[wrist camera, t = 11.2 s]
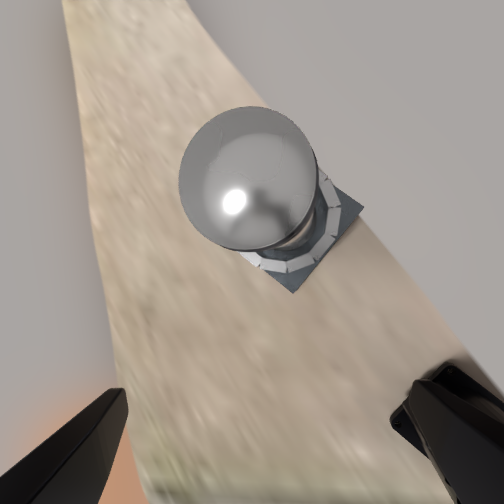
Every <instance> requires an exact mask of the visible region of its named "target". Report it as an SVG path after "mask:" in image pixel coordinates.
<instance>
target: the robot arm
mask: <svg viewBox="0 0 504 504" xmlns="http://www.w3.org/2000/svg"><path fill="white" fill-rule="evenodd" d="M449 369H453V371H452V372H451V373H448V370H449ZM127 417H128V403H127V397H126V392H125V389H124V388H110V389H108V390H107V391H106V392H104V393H103V394H102V395H101V396H99V397H98V398H97V399H96V400H94V401H93V402H92V403H91V404H89V405H88V406H87V407H86V408H85V409H83V410H82V411H81V412H80V413H78V414H77V415H76V416H75V417H73V418H72V419H71V420H70V421H68V422H67V423H66V424H65V425H64V426H62V427H61V428H60V429H59V430H57V431H56V432H55V433H54V434H52V435H51V436H50V437H49V438H48V439H46V440H45V441H44V442H43V443H41V444H40V445H39V446H38V447H36V448H35V449H34V450H33V451H31V452H30V453H29V454H28V455H26V456H25V457H24V458H23V459H22V460H20V461H19V462H18V463H17V464H16V465H14V466H13V467H12V468H10V470H8V471H7V472H5V473H4V474H3V475H2V476H1V477H0V504H98V502H99V499H100V497H101V495H102V492H103V490H104V487H105V485H106V482H107V480H108V476H109V474H110V471H111V468H112V465H113V462H114V458H115V455H116V452H117V449H118V446H119V442H120V439H121V436H122V433H123V430H124V427H125V423H126V420H127ZM396 421H399V422H400V424H395V422H396ZM390 424H391V426H392V428H393V429H394V430H395V431H397V432H398V433H399V434H400V435H401V436H402V437H404V438H405V439H406V440H407V441H408V442H410V443H411V444H412V445H413V446H414V447H415V448H417V449H418V450H419V451H420V452H421V453H422V454H424V455H425V456H426V457H427V458H428V459H429V460H430V461H431V462H432V464H433V466H434V468H435V470H436V471H437V473H438V475H439V477H440V478H441V480H442V482H443V484H444V486H445V487H446V489H447V491H448V493H449V495H450V496H451V498H452V500H453V502H454V504H504V403H503V402H502V401H501V400H499V399H498V398H497V397H495V396H494V395H493V394H491V393H490V392H489V391H488V390H486V389H485V388H484V387H482V386H481V385H480V384H478V383H477V382H476V381H475V380H473V379H472V378H471V377H469V376H468V375H467V374H465V373H464V372H463V371H462V370H460V369H459V368H458V367H456V366H455V365H454V364H452V363H445V364H443V365H442V366H441V367H440V368H439V369H438V370H437V371H436V372H435V373H434V374H433V375H432V376H431V377H430V378H429V379H428V380H427V379H422V380H415V381H414V382H413V385H412V389H411V393H410V396H409V397H408V398H407V399H406V400H405V401H404V402H403V405H402V406H401V407H400V408H399V409H398V410H397V411H396V412H395V413H394V414H393V415H392V416H391V417H390Z"/></svg>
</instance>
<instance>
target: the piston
mask: <svg viewBox="0 0 504 504" xmlns="http://www.w3.org/2000/svg"><path fill="white" fill-rule="evenodd" d="M318 188H319V171H318V164H317V160H316V157H315V154H314V152H313V149H312V148H311V146H310V143H309V142H308V140H307V138H306V136H305V135H304V134H303V132H302V131H301V130H300V128H299V127H298V126H297V125H296V124H294V122H293V121H291V120H290V119H288V118H287V117H286V116H284V115H282V114H281V113H279V112H277V111H274V110H271V109H268V108H263V107H253V106H248V107H239V108H235V109H231V110H228V111H226V112H223V113H221V114H219V115H217V116H216V117H214V118H213V119H211V120H210V121H208V122H207V123H206V124H205V125H204V126H203V127H202V128H201V129H200V130H199V131H198V132H197V133H196V134H195V135H194V137H193V138H192V140H191V141H190V143H189V145H188V147H187V149H186V150H185V153H184V156H183V158H182V162H181V166H180V171H179V194H180V198H181V202H182V205H183V208H184V211H185V213H186V215H187V217H188V218H189V220H190V221H191V223H192V224H193V226H194V227H195V228H196V229H197V230H198V231H199V232H200V233H201V234H202V235H203V236H204V237H206V238H207V239H209V240H210V241H212V242H214V243H216V244H218V245H220V246H222V247H224V248H227V249H230V250H233V251H238V252H259V251H266V250H271V249H274V250H279V251H289V250H293V249H296V248H298V247H300V246H302V245H303V244H305V243H306V242H307V241H308V240H309V239H310V237H311V236H312V234H313V232H314V230H315V227H316V222H317V212H316V208H315V205H316V201H317V195H318Z"/></svg>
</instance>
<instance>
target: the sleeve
mask: <svg viewBox="0 0 504 504" xmlns="http://www.w3.org/2000/svg"><path fill="white" fill-rule="evenodd" d="M318 171H319V188H318V195H317V201H316V205H315V208H316V212H317V222H316V227H315V230H314V232H313V234H312V236H311V237H310V239H309V240H308V241H307V242H306V243H305V244H303V245H302V246H300V247H298V248H296V249H293V250H289V251H279V250H274V249H271V250H266V251H259V252H238V251H237V252H238V253H240V254H241V255H242V256H243V257H244V258H246V259H247V260H248V261H249V262H251V263H252V264H253V265H254V266H255V267H259V266H260V269H263V270H265V271H266V272H267V273H268V274H269V275H271V276H272V277H273V278H274V279H276V280H277V281H278V282H279V283H281V284H282V285H283V286H284V287H285V288H287V289H288V290H289V291H290V292H292V293H294V292H295V291H296V290H297V289H298V287H299V286H300V285H301V284H302V282H303V281H304V280H305V279H306V278H307V276H308V275H309V274H310V273H311V272H312V270H313V269H314V268H315V267H316V265H317V264H318V263H319V262H320V261H321V259H322V258H323V257H324V256H325V255H326V253H327V252H328V251H329V250H330V248H331V247H332V246H333V245H334V244H335V242H336V241H337V240H338V239H339V237H340V236H341V235H342V234H343V233H344V231H345V230H346V229H347V228H348V227H349V225H350V224H351V223H352V222H353V220H354V219H355V218H356V217H357V216H358V214H359V213H360V212H361V211H362V210H363V208H364V206H362V205H361V204H359V203H358V202H356V201H355V200H353V199H352V198H351V197H349V196H348V195H346V194H345V193H344V192H342V191H341V190H339V189H338V188H337V187H335V186H334V185H333V184H332V182H331V180H330V179H328V180H327V177H328V176H327V175H326V174H324V173H323V172H322V171H320V170H319V169H318Z"/></svg>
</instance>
